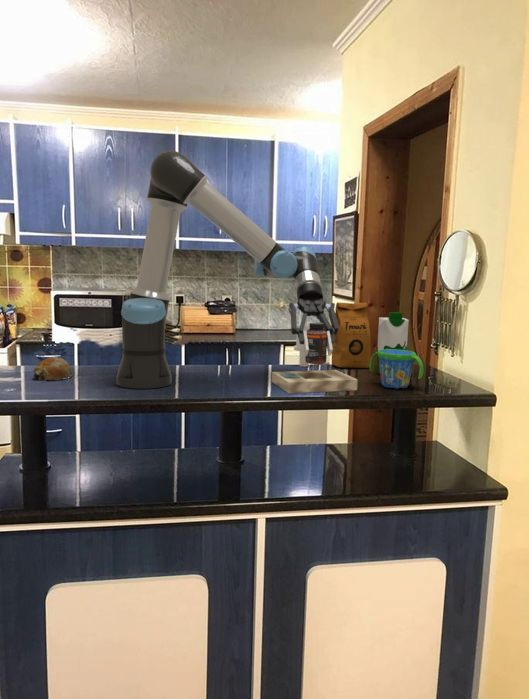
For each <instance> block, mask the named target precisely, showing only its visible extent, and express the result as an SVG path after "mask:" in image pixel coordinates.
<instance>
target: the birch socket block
mask: <svg viewBox="0 0 529 699" xmlns="http://www.w3.org/2000/svg"><path fill="white" fill-rule="evenodd" d="M271 383H273V384H274V385H275V386H277V387H278V388H280V389H281V390H283V391H285V392H286V393H287V394H304V393H324V392H327V393H328V392H329V393H330V392H349V391H358V379H357V378H355V377H352V376H350V375H349V374H346V373H344V372H341V371H339V370H336V369H323V370H321V369H320V370H290V371H287V370H286V371H272V372H271Z"/></svg>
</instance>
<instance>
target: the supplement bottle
mask: <svg viewBox="0 0 529 699" xmlns="http://www.w3.org/2000/svg"><path fill="white" fill-rule="evenodd" d="M313 322H314V323H310V324H309V325H310V326H309V327H310V329H309V330H307V332H306V333H307V340H308V347H309V351H308V355H307V356H305V361H306V363H308V365H309V364H310V365H323V364H325V363H326V364H327V356H328V351H327V332H326V331H325V330H324V323H321V322H318V321H317V322H315V321H313Z"/></svg>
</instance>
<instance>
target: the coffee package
mask: <svg viewBox="0 0 529 699" xmlns="http://www.w3.org/2000/svg"><path fill="white" fill-rule="evenodd" d="M367 304H368V303H367V302H354V303H353V302H352V303H351V302H336V304H335V308H334V311H335V314H336V318H337V322H338V326H339V330H338V333H337V334H336V335H335V334H333V335H334V343H333V344H332V348H333V350H332V354H331V365H332V366H335V367H338V368H342V369H363V368H364V369H365V368H366V369H368V368H369V364H370V360H371V346H372V345H371V343H372V341H371V339H372V337H371V329H370V321H369V318H368V311H367V306H368V305H367Z"/></svg>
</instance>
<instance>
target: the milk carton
mask: <svg viewBox="0 0 529 699" xmlns="http://www.w3.org/2000/svg"><path fill="white" fill-rule="evenodd" d="M409 321H410V320H409V319H408V318H404V317H403V312H401V311H399V312H398V311H389V313H388V317H378V329H377V330H378V332H377V350H376V352H378V351H379V350H382V349H398V350H407V351H408V338H409V337H408V335H409V334H408V333H409ZM376 367H377V370H376V373H377V374H379V375H380V362H379V357H378V354H377V355H376Z"/></svg>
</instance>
